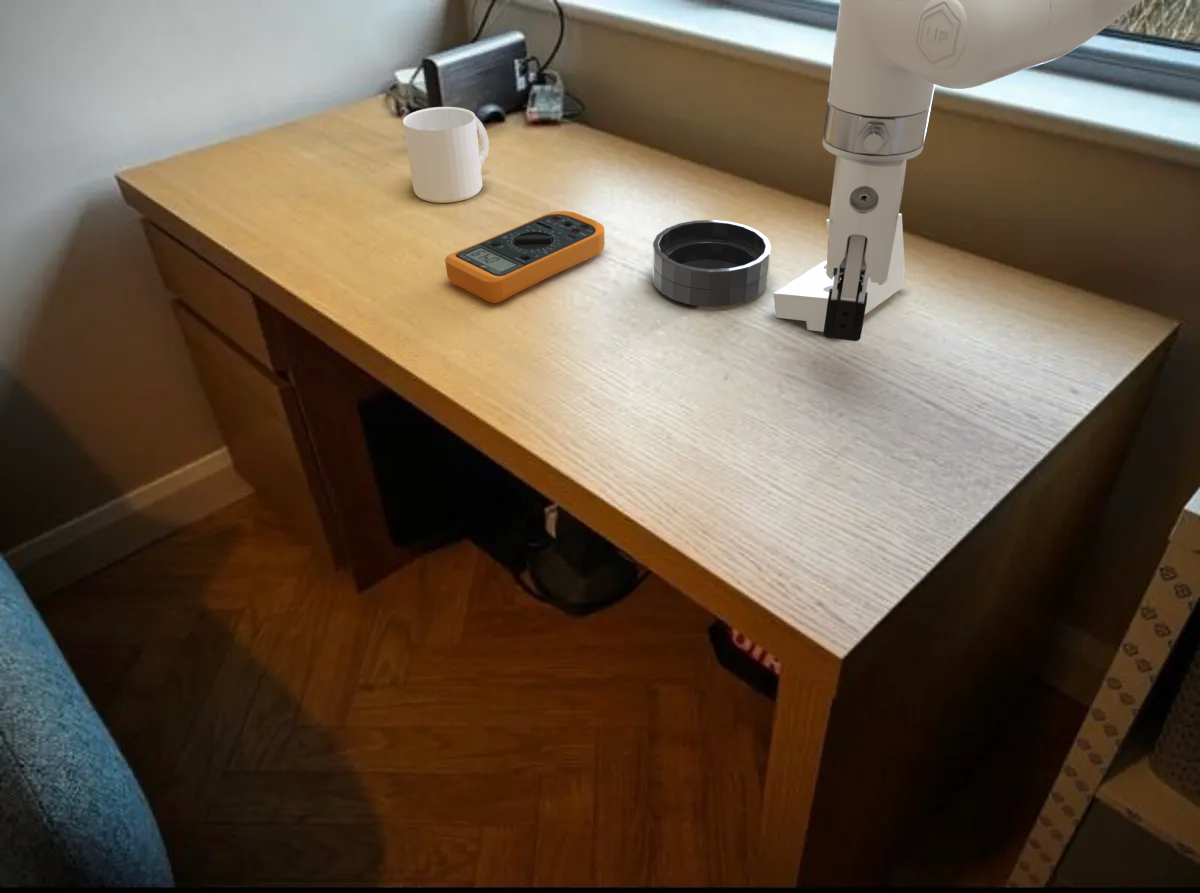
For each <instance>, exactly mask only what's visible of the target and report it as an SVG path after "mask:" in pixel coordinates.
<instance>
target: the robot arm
mask: <svg viewBox="0 0 1200 893" xmlns="http://www.w3.org/2000/svg"><path fill="white" fill-rule="evenodd" d="M1141 1H1142V0H839V7H838V15H837V23H836V29H835V31H836V32H835V39H834V45H833V46H834V47H833V53H832V54H833V55H832V61H831V62H832V63H831V71H830V79H829V87H828V94H827V102H826V109H825V110H826V111H825V119H824V126H823V136H822V141H821V144H822V147H823V148H824V149H825V151H827V152H828V153H830V154H832V155H834V156H836V157H835V165H834V173H833V179H832V189H831V198H830V207H829V214H828V215H829V216H828V217H829V218H828V219H829V228H828V233H827V246H826V248H827V249H826V260H827V270H826V275H827V276H828V277H829V278H830V279H831V280H833V277H834V282H833V289H830V291H829V297H828V303H827V310H826V317H825V324H824V331H823V332H822V335H823V338H826V339H833V340H841V341H849V342H850V341H851V342H859V341H860V340H861V336H862V331H863V326H864V321H865V316H866V314H865V309H866V303H867V294H868V293H866V288H867V282H868V278H869V276H870V279H871V282H873V283H878V285H882V284H884V283H885V282H886V281H887V278H888V272H889V266H890V260H891V254H892V248H893V243H894V237H895V232H896V226H897V221H898V215H899V214H900V209H901V203H902V197H903V192H904V185H905V179H906V178H905V176H906V168H907V161H909V160H911V159H914V158H916V157H918V156H919V155H921V153H922V152H923V150H924V145H925V139H926V135H927V130H928V125H929V119H930V115H931V114H930V113H931V108H932V104H933V103H932V102H933V98H934V93H935V88H936V86H939V87H942V88H945V89H951V90H956V89H957V90H964V89H971V88H976V87H979V86H982V85H985V84H988V83H991V82H994V81H997V80H1000V79H1004V78H1006V77H1009V76H1011V75H1013V74H1016V73H1018V72H1021V71H1024V70H1027V69H1030V68H1034V67H1037V66H1040V65H1043V64H1047V63H1050V62H1052V61H1055V60H1057V59H1059V58H1063V57H1064V56H1065V55H1067V54H1069V53H1071V52H1072V51H1074V50H1076V49H1077V48H1079V47H1081V46H1083V45H1084V44H1085V43H1086V42H1089V41H1090V40H1091V39H1092V38H1093V37H1095V36H1096V35H1098V34H1099V33H1100V32H1102V31H1103V30H1104V29H1106V28H1107V27H1108V26H1110V25H1111V24H1112V23H1114V22H1115V21H1116V20H1118V19H1119V18H1120V17H1121V16H1123V15H1124V14H1126V13H1127V12H1128V11H1129V10H1131V9H1132V8H1133V7H1135V6H1136V5H1137V4H1139V3H1141ZM840 278H841V280H840Z"/></svg>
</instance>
